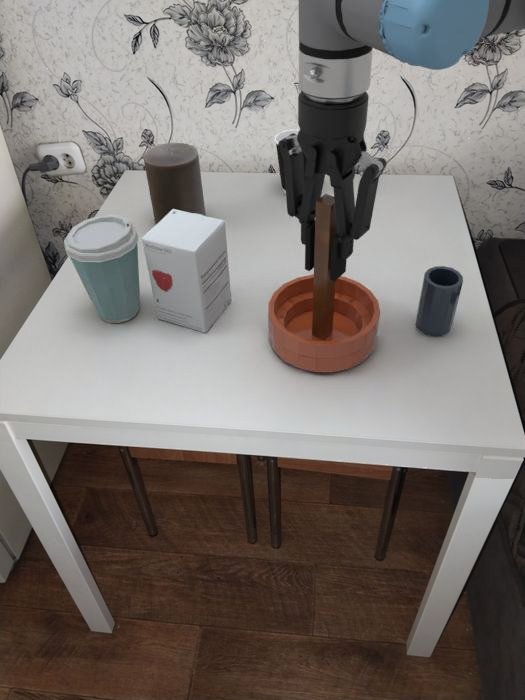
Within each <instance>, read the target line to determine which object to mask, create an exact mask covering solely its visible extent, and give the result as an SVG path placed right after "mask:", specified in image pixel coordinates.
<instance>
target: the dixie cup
mask: <svg viewBox="0 0 525 700" xmlns="http://www.w3.org/2000/svg"><path fill="white" fill-rule="evenodd" d="M299 130H300V128H299V129H298V128H296V129H295V128H294V129H293V128H292V129H287V130H282V131H280V132H278V133H277V134H276V135H275V136H274V138H273V140H274V141H273V142H274V143H275V145H276V146H275V147H276V155H277V162H278V169H279V176H280V177H279V178H280V184H281V188H282V192H283V193H284V195H286V187H285V173H284V160H283V157H282V154H281V151H280V149H279V145H278V143H279V141H281V140H282V139H284V138H285V137H287V136H289V135H290V134H292V133H295V134H296V135H297V134H298V132H299ZM302 152H303V151H302ZM303 162H304V181H306V177H305V169H306V163H307V159H306V157H305V155H304V153H303Z"/></svg>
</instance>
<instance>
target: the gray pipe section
mask: <svg viewBox="0 0 525 700" xmlns="http://www.w3.org/2000/svg"><path fill="white" fill-rule="evenodd" d="M423 276H424V277H423V280H422V285H421V291H420V296H419V301H418V306H417V312H416V319H415V327H416V330H418V331H419V332H420V333H421V334H423V335H424V336H428V337H433V338H441V337H444V336H446V335H448V334H449V333H450V332H451V330H452V327H453V324H454V320H455V316H456V311H457V308H458V303H459V300H460V296H461V291H462V288H463V285H464V277H463V275H462V274H461V272H460V271H458V270H456V269H455V268H453V267H450V266H446V265H444V266H443V265H440V266H432V267H429V268H428V269H427V270H426V271H425V272H424V275H423Z"/></svg>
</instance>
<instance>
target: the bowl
mask: <svg viewBox="0 0 525 700" xmlns="http://www.w3.org/2000/svg"><path fill="white" fill-rule="evenodd" d="M313 282H314V273H313V274H308V275H303V276H298V277H296V278H293V279H291V280H289V281H287V282H285V283H283V284H282V285H281V286H280V287H278V289H276V290H275V291H274V292H273V294H272V295H271V297H270V299H269V301H268V307H267V308H268V309H267V310H268V311H267V313H268V315H267V316H268V339H269V342H270V344H271V347H272V349H273V351H274V353H275V354H276V355H277V356H278V357H280V358H281V359H282V360H283V361H284V362H285V363H287V364H290V365H292V366H293V367H296V368H298V369H301V370H304V371H310V372H314V373H337V372H340V371H344V370H348V369H351V368H354V367H355V366H357V365H359V364H361V363H362V362H365V360H366V359H367V358H368V357H369V356H370V355H371V354H372V352H373V351H374V349H375V346H376V343H377V338H378V332H379V325H380V324H379V323H380V317H381V309H380V304H379V300H378V299H377V297H376V296H375V294H374V293H373V292H372V291H371V289H369V288H368V287H366V286H365V285H364V284H362V283H361V282H360V281H357V280H354V279H351V278H349V277H346V276H343V275H341V276H340V277H339V278H338V279H337V280H336V282H335V299H334V315H333V331H332V334H331V335H330V336H329V337H328V338H327V339H326V340H325V341H324V340H321V339H319V338H317V337H315V336H313V335H312V317H313Z"/></svg>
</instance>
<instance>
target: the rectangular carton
mask: <svg viewBox="0 0 525 700" xmlns="http://www.w3.org/2000/svg"><path fill="white" fill-rule="evenodd" d="M227 242H228V241H227V228H226V220H224V219H219V218H217V217H216V218H215V217H210V216H207V215H206V216H204V215H201V214H196V213H189V212H185V211H180V210H176V209H172V210H171V211H170V212H169V213H168V214H167V215H166V216H165V217H164V218H163V219H162V220H161V221H160V222H159V223H158V224H155V225H154V226H153V227H152V228H150V229H149V230H148V231H147V233H145V234H144V235H143V237H141V244H142V248H143V252H144V257H145V262H146V266H147V272H148V276H149V283H150V286H151V291H152V295H153V296H152V297H153V302H154V307H155V312H156V315H157V319H159V320H161V321H164V322H168V323H171V324H175V325H178V326H182V327H185V328H188V329H191V330H195V331H198V332H201V333H205V334H206V333H208V331H209V330H210V329H211V328H212V327H213V325H214V324H215V322H216V321H217V320H218V319H219V317H220V316H221V315H222V313H223V312H224V311H225V309H226V308H227V307H228V306H229V304H230V303H231V302H232V292H231V291H232V290H231V279H230V267H229V255H228V243H227Z"/></svg>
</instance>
